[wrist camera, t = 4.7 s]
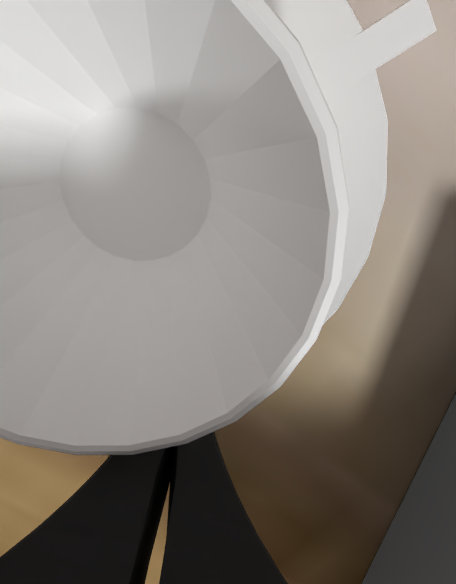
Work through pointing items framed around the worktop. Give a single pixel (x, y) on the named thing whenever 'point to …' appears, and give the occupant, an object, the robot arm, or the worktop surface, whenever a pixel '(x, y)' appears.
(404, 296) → the worktop surface
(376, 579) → the cubby
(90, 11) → the teacup
